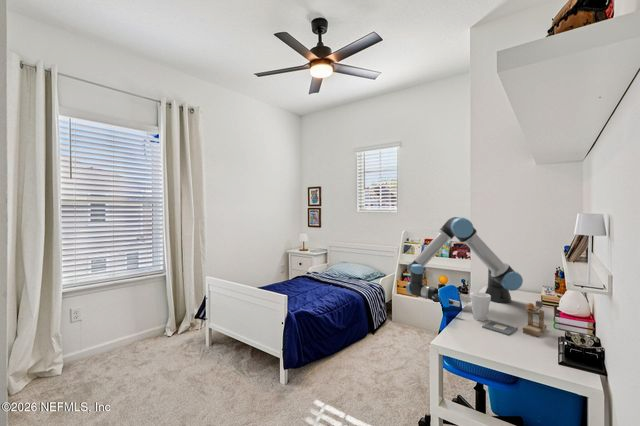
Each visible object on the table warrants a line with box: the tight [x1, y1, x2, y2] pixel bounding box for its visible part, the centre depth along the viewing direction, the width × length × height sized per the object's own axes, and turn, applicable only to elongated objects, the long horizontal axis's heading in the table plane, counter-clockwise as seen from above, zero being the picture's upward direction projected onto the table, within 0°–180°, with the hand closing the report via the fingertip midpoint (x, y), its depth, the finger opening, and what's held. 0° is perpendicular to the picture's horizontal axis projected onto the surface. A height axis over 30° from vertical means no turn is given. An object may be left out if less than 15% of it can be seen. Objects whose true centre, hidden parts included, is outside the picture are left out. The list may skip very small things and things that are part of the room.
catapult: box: [522, 300, 548, 338], centre depth 149 cm, size 17×6×15 cm, turn 130°
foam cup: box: [470, 291, 491, 321], centre depth 166 cm, size 10×9×13 cm
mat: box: [482, 320, 519, 336], centre depth 153 cm, size 12×12×1 cm
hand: (465, 302), depth 171 cm, fingers open, 13 cm apart
